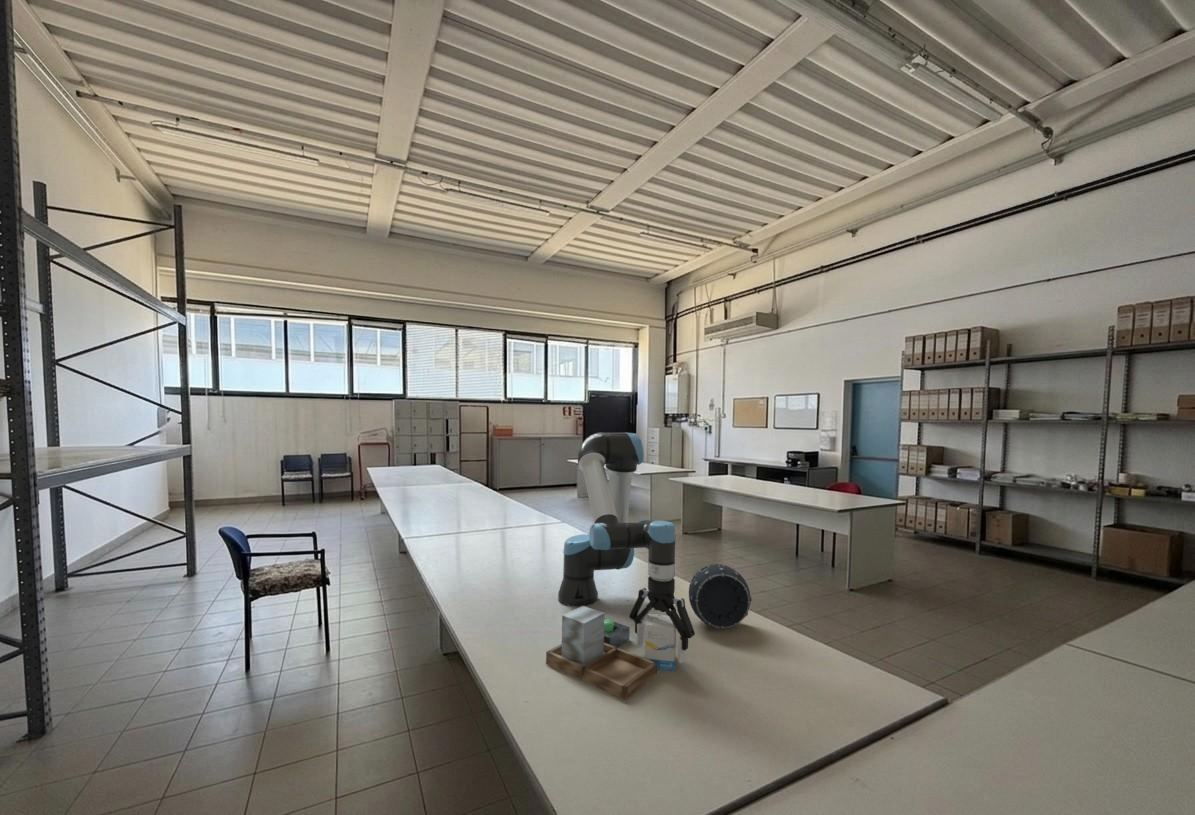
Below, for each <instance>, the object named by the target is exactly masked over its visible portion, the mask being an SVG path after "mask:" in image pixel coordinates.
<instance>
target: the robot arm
mask: <svg viewBox="0 0 1195 815" xmlns="http://www.w3.org/2000/svg"><path fill="white" fill-rule="evenodd" d="M644 455H645V454H644V446H643V443H642V439H641V437H640V436H639V434H637V433H633V432H626V431H625V432H596V433H593V434H590V435H589V436H588V437H586V438H585V439H584V441H583V442H582V443H581V445H580V447H579V448H578V453H577V464H578V468H579V470H580V471H581V472H582V474H583V478H584V483H585V487H586V492H587V496H588V500H589V506H590V510H591V515H592V519H593V524H591V525H590V527H589V532H588V534H585V533H584V534H575V535H573V536H570V537H567V539H566V540H565V541H564V542H563V543H564V544H563V552H562V553H563V574H562V576H563V577H562V581H561V584H560V587H559V590H558V592H557V594H558V596H557V598H558V599H557V600H558V601H559V602H560V603H561V604H563V605H565V606H566V605H567V606H573V607H581V606H585V607H587V606H590V605H593V604H595V603H596V602H598V600H599V591H598V590H597V585H596V582H595V578H594V577H595V571H607V570H617V571H619V570H621V569H628V568H629V567H630V566H631V565H632V564H633V561H634V557H635V549H644V548H645V549H647V550H648V561H647V562H648V564H647V565H648V566H647V567H648V568H647V570H648V572H647V573H648V578H647V588H648V589H647V588H646V587H643V588H641V589H639V590H638V596H637V598H636V601H635V603H634V605H633V607H632V609H631V611H630V613H629V615H628V618H629V620H633V622H634V633H635V634H636V647H637V648H641V647H642V646H643V645H645V621H643V620H644V618H645V617H647V616H648V614H650V611H651V610H652V609H654V611H659V612H661V613H665V615H668V616H669V617H670V619H671V620H672V622H673V624H674V626H675V627H676V632H677V633H678V634H679V637H677V638H678V640H677V642H678V643H677V646H678V649H677V651H678V652H677V653H678V655H677V656H678V658H677V662H678V663H679V664H681V663H682V662H684V661H685V660H686V651H687V649H688V648H689V639H692V638H693V637H694V636H696V632H695V629H694V627H693V625H692V624H693V623H692V621H691V618H690V616H689V613H688V611H687V609H686V608H687V607H686V601H685V599H684V598H680V599H679V598H676V596H675V589H676V588H675V587H676V586H675V584H676V583H675V582H676V581H675V580H676V579H675V577H676V563H675V562H676V537H677V534H676V526H675V524H674V523H673V522H671V521H667V520H651V519H650V520H649V519H641V520H638V521H635V522H629V520H628V519H629V510H630V498H631V489H632V480H633V479H632V478H633V477H632V476H633V474H634V473H635V472H637V469H638V468H637V467H638V465H641V464H643V461H644ZM605 468H606V469H605ZM606 470H607V471H608V476H607V472H606ZM646 598H647V599H648V600H649V602H648V603H647V604H645V605H646V606H645V607H644V608H643V609H642V610H641V608H642V606H643V603H644V602H645V599H646ZM674 605H675V606H674ZM640 610H641V611H640Z"/></svg>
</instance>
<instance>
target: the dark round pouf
mask: <svg viewBox="0 0 1195 815" xmlns="http://www.w3.org/2000/svg"><path fill="white" fill-rule="evenodd" d="M688 600H689V604H690V606H691V609H692V611H693V612H694V614H695V615H696V616H697V618H698V619H699V620H700V621H702V623H704V626H708V627H712V628H716V629H719V630H724V629H729V628H733V627H737V626H738V625H739V624H740V623H741V622H742V621H743V620H744V619H745V618H746V617H747V616H748V615H749V610H750V606H751V604H752V600H753V599H752V596H751V591H750V588H749V584H748V582H747V581H746V580H745V579H744V577H743V575H742V574H740V573H739V572H738V571H737V570H736V569H734V568H732V567H730V566H729V565H726V564H721V563H714V564H713V563H712V564H708V565H705V566H703V567H701V568H700V569H699V570H697V571H696V573H695V574H694V575H693V576H692V578H691V580H690V583H689V587H688Z"/></svg>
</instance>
